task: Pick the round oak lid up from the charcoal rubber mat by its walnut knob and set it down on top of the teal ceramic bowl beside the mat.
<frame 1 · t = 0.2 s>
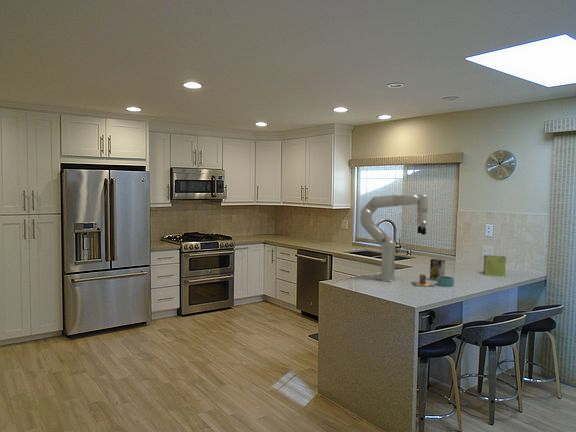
hand: (421, 233, 326), 36 cm above the countertop, tool pointing down, fingers open, 9 cm apart
mat: (422, 285, 315), on the countertop
coffee box: (437, 280, 333), on the countertop
bowl: (445, 285, 314), on the countertop
protein box: (494, 275, 360), on the countertop
lid: (422, 284, 315), resting on mat
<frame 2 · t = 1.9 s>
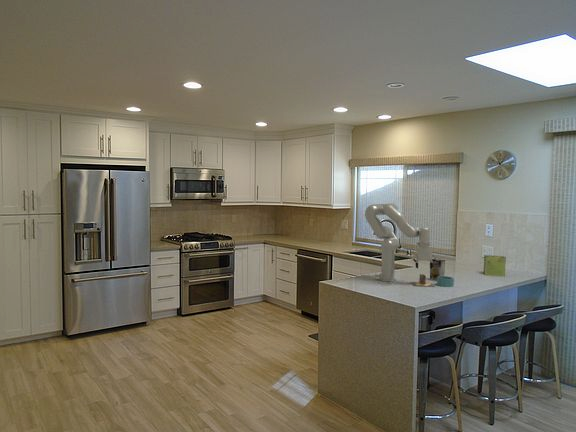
hand: (424, 268, 314), 12 cm above the countertop, tool pointing down, fingers open, 9 cm apart
nothing on the countertop moved.
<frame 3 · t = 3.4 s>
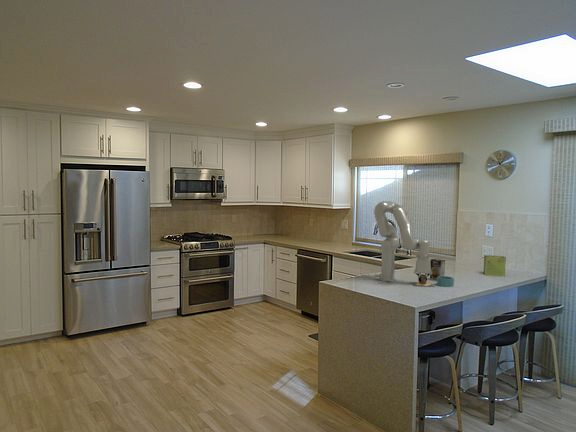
hand: (422, 282, 315), 2 cm above the countertop, tool pointing down, fingers closed on lid, 3 cm apart
lid: (422, 284, 315), point 1 cm above the countertop, touching gripper, mat
everything else where it was.
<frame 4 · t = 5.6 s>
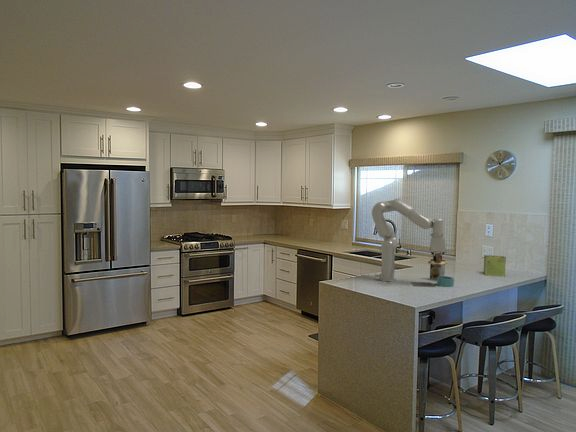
hand: (437, 261, 313), 18 cm above the countertop, tool pointing down, fingers closed on lid, 3 cm apart
lid: (437, 263, 313), point 16 cm above the countertop, touching gripper
everything else where it was.
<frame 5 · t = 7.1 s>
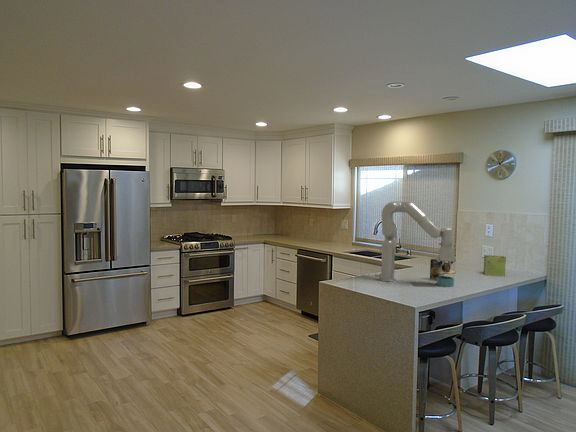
hand: (445, 270, 313), 11 cm above the countertop, tool pointing down, fingers closed on lid, 3 cm apart
lid: (445, 272, 313), point 10 cm above the countertop, touching gripper
everything else where it was.
when the fingers open (10 cm above the countertop, at t = 8.1 s): lid drops 2 cm, resting on bowl.
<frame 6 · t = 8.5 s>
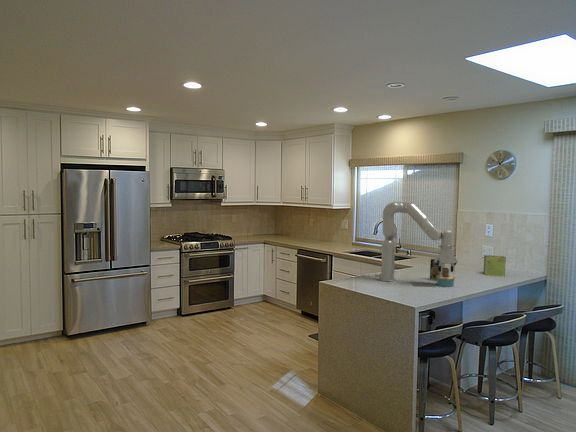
hand: (445, 271, 313), 10 cm above the countertop, tool pointing down, fingers open, 7 cm apart
lid: (445, 277, 313), point 6 cm above the countertop, touching bowl
everything else where it was.
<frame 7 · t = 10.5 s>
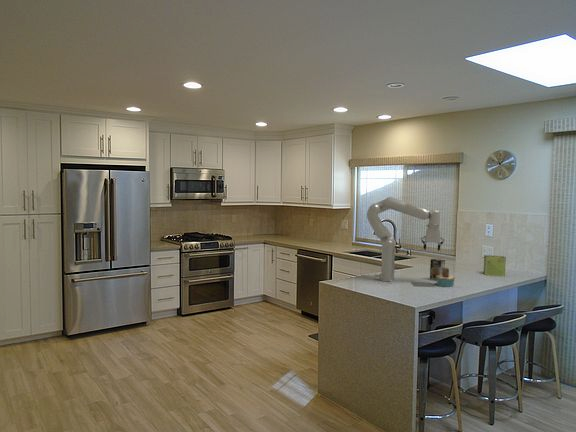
hand: (431, 249, 320), 25 cm above the countertop, tool pointing down, fingers open, 9 cm apart
nothing on the countertop moved.
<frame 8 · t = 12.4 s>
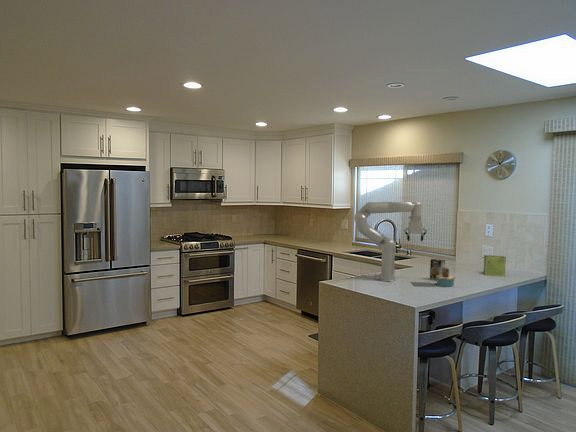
hand: (415, 240, 330), 30 cm above the countertop, tool pointing down, fingers open, 9 cm apart
nothing on the countertop moved.
at the end: lid 0.1 cm off-centre on the bowl, point 6.0 cm above the bowl's base; lid tilted 0°; the gripper is holding nothing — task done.
